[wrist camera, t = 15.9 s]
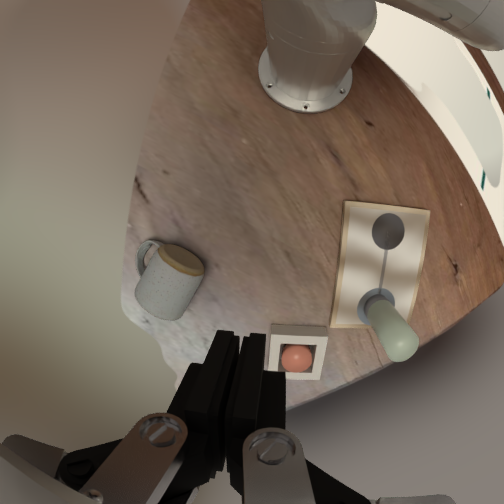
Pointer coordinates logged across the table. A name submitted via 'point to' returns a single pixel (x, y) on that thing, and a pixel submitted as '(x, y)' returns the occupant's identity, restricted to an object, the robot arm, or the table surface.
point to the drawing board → (378, 260)
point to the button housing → (298, 336)
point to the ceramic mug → (167, 279)
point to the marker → (391, 328)
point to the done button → (296, 357)
